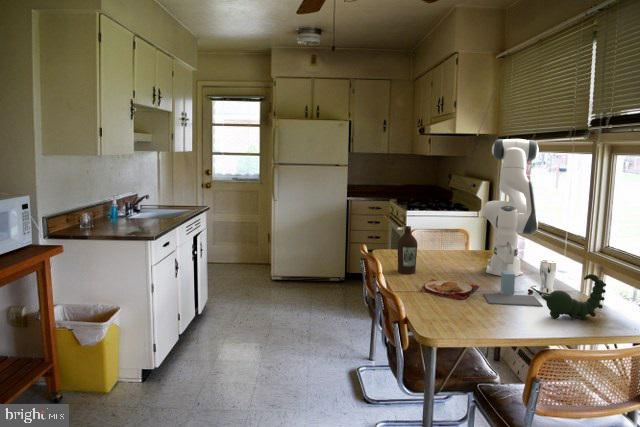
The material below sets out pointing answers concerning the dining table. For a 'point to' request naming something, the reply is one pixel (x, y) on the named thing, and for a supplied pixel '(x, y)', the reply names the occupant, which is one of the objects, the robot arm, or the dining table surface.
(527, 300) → the charcoal mat
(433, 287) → the plate with food
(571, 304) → the toy figurine
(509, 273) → the slate block
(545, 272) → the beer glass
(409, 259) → the brown bottle
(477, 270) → the dining table surface
